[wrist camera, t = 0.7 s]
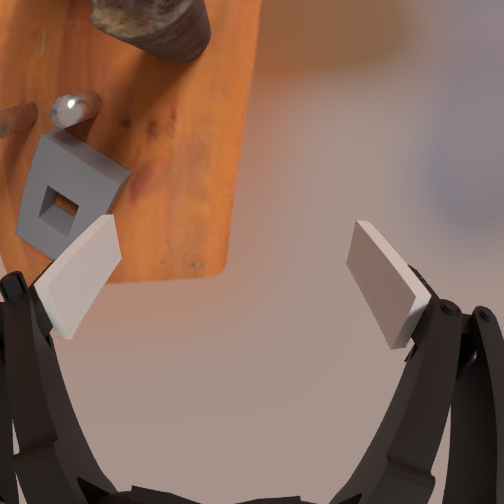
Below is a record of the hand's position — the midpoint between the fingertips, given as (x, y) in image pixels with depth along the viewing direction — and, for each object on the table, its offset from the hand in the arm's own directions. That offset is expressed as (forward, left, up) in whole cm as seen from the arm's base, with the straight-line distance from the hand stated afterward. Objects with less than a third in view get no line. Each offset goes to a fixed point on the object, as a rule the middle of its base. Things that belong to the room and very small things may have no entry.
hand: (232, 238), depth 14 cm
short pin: (+6, -20, -24) cm, 31 cm away
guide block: (+20, -16, -24) cm, 35 cm away
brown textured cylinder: (-8, -14, -24) cm, 29 cm away
